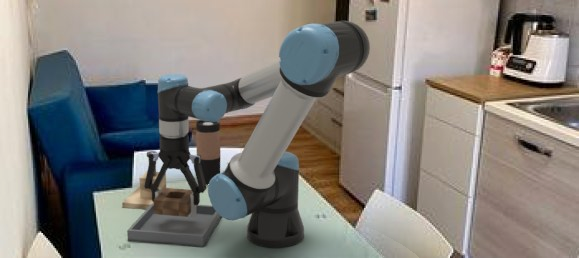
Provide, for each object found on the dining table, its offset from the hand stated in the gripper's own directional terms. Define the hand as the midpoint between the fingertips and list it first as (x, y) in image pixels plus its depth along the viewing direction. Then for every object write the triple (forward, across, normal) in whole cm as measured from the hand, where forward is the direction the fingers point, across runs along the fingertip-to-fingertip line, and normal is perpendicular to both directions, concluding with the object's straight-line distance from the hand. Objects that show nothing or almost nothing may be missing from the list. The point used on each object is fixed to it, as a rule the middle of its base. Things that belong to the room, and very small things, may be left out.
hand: (176, 214), depth 171 cm
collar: (-2, 0, 0) cm, 2 cm away
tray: (+4, 0, 0) cm, 4 cm away
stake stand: (+4, +13, -18) cm, 22 cm away
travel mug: (+4, +1, -37) cm, 37 cm away
